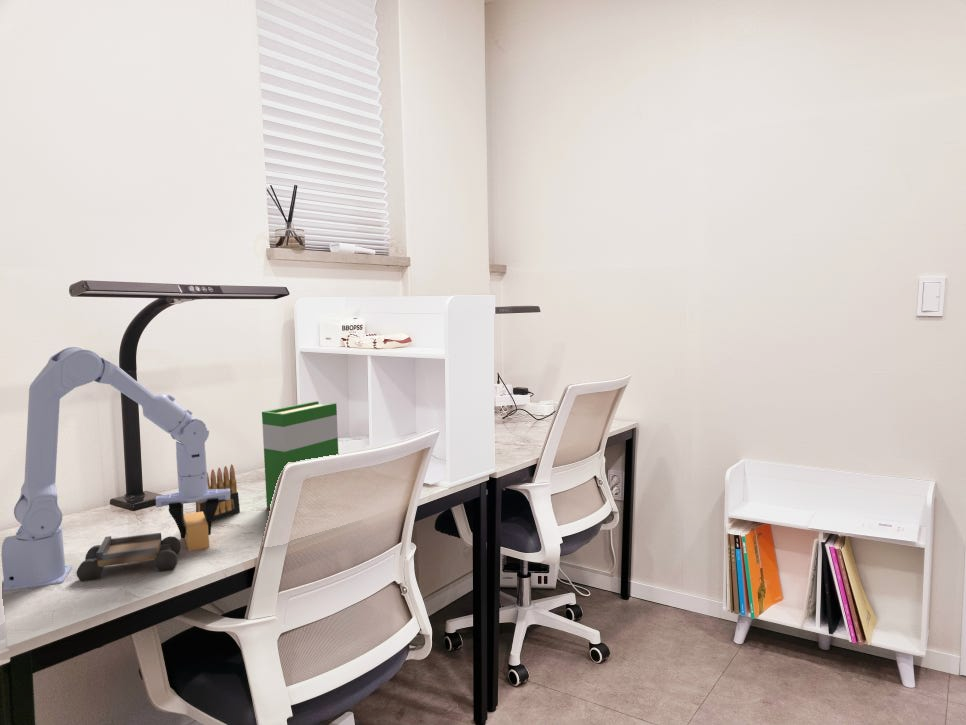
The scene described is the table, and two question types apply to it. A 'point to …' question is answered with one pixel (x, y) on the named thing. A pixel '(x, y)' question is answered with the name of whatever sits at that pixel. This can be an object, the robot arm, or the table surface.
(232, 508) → the ammunition clip
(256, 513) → the table surface
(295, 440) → the hardback book
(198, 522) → the block
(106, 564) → the dolly
